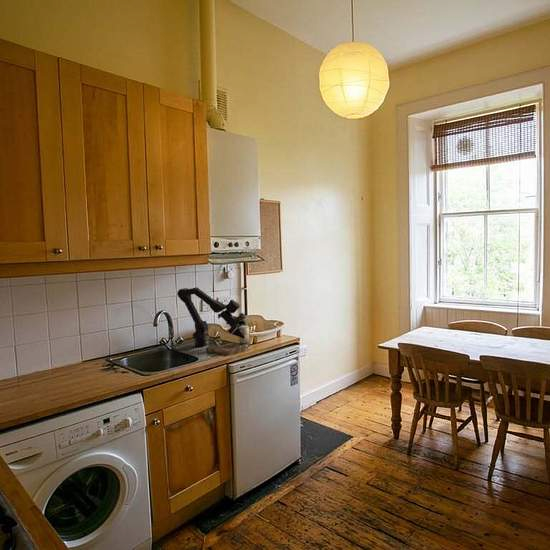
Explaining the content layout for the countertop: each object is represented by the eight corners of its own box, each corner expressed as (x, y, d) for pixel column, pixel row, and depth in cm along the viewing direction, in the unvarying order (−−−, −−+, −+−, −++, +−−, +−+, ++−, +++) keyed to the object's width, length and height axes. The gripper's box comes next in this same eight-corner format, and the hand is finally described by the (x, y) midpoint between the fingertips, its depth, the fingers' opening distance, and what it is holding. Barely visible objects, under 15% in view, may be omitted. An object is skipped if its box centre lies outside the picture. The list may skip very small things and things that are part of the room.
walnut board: (228, 355, 230) (228, 350, 230) (214, 352, 239) (214, 347, 239) (245, 350, 240) (245, 346, 239) (231, 347, 248) (231, 342, 248)
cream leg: (239, 347, 247) (238, 327, 246) (243, 345, 252) (242, 325, 251) (247, 348, 245) (246, 327, 244) (251, 346, 250) (250, 325, 249)
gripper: (232, 311, 239) (250, 330, 237) (242, 307, 257) (259, 324, 255) (220, 324, 242) (238, 343, 240) (231, 319, 260) (248, 336, 258)
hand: (246, 336), depth 248 cm, fingers open, 9 cm apart
